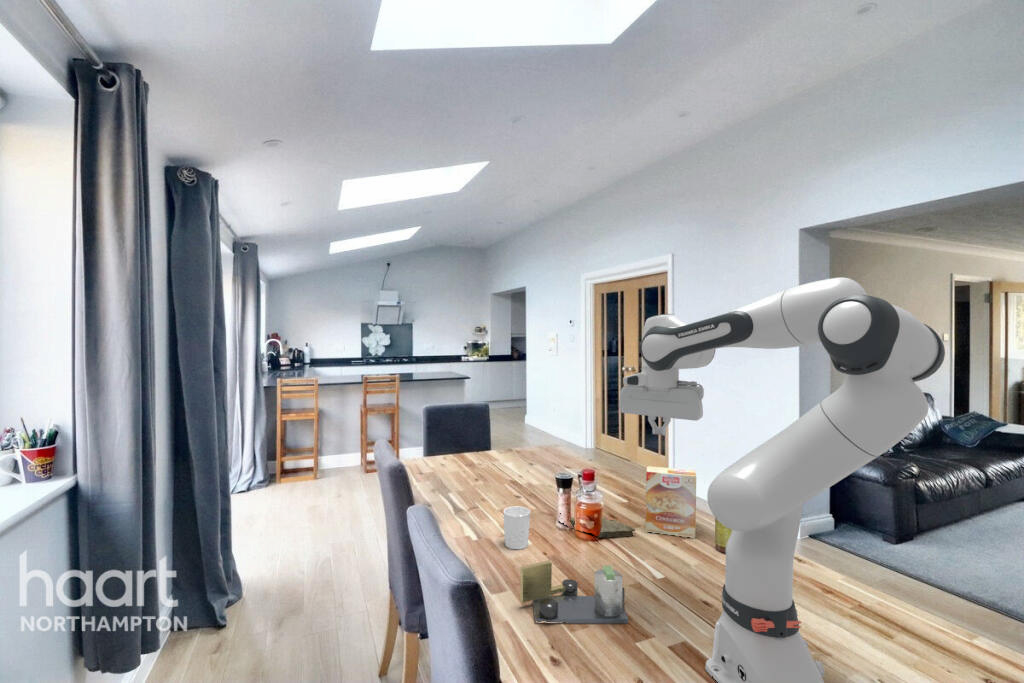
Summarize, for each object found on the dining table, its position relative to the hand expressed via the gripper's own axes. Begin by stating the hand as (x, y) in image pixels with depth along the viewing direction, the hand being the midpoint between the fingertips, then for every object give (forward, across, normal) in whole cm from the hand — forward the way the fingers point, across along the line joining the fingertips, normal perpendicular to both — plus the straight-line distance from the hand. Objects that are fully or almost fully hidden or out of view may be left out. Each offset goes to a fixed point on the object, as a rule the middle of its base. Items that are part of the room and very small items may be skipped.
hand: (659, 434), depth 119 cm
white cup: (+38, +40, +3) cm, 55 cm away
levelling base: (+37, +10, +23) cm, 45 cm away
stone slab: (+38, +27, -22) cm, 51 cm away
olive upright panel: (+37, +18, +23) cm, 47 cm away
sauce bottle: (+37, -11, -30) cm, 49 cm away
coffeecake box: (+37, +6, -34) cm, 51 cm away
